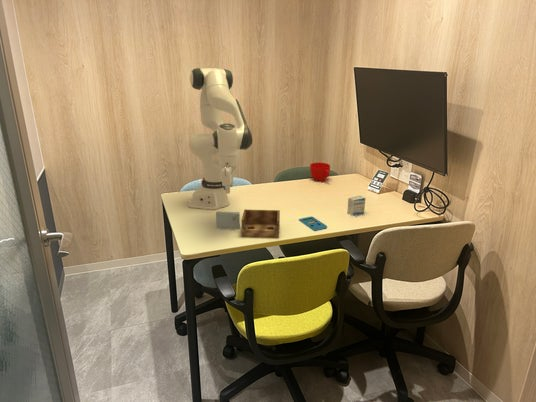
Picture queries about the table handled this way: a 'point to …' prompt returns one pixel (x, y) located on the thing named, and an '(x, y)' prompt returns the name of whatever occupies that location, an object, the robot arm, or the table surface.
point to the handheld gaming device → (313, 223)
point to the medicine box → (356, 205)
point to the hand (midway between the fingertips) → (229, 189)
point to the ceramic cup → (319, 171)
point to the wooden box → (261, 223)
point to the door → (228, 220)
